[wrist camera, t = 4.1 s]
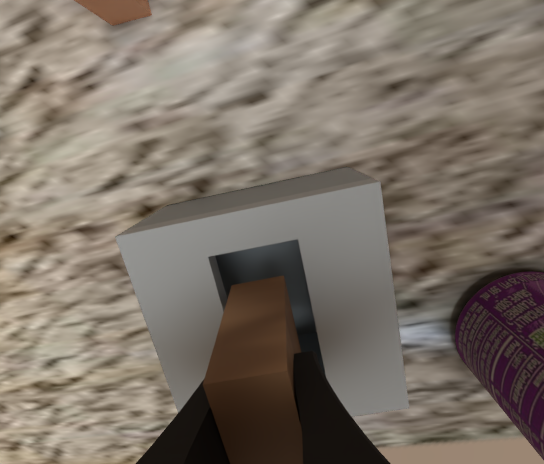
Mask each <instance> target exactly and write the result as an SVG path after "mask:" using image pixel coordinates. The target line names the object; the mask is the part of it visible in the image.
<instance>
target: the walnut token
mask: <svg viewBox="0 0 544 464" xmlns="http://www.w3.org/2000/svg"><path fill="white" fill-rule="evenodd" d="M295 353H301V348H300V344H299V340H298V335H297V331H296V326H295V322H294V318H293V313H292V309H291V304H290V300H289V296H288V291H287V287H286V282H285V278H284V275H283V276H278V277H272V278H267V279H262V280H257V281H251V282H246V283H241V284H236V285H232V286H231V289H230V293H229V296H228V300H227V303H226V306H225V310H224V313H223V317H222V320H221V324H220V327H219V330H218V334H217V337H216V341H215V344H214V348H213V351H212V355H211V358H210V361H209V365H208V368H207V372H206V375H205V379H204V382H203V387H204V390H205V393H206V396H207V399H208V401H209V404H210V407H211V410H212V413H213V416H214V419H215V422H216V424H217V427H218V430H219V433H220V436H221V439H222V442H223V445H224V447H225V450H226V453H227V456H228V459H229V462H230V464H303V444H302V428H301V419H300V413H299V407H298V401H297V395H296V389H295V383H294V377H293V361H294V354H295Z"/></svg>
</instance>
